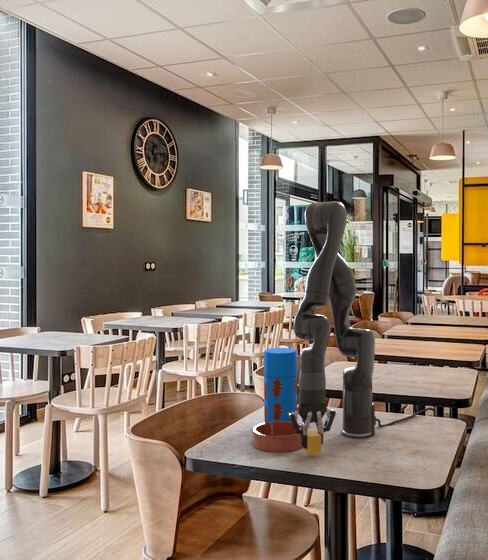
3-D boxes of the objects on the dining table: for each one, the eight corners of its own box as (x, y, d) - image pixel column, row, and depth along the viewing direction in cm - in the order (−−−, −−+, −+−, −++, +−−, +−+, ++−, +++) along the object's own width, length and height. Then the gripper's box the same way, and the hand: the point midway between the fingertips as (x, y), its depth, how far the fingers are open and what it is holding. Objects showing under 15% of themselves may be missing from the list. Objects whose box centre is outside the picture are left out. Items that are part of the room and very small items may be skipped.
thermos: (293, 431, 192) (292, 353, 190) (260, 429, 194) (260, 352, 192) (300, 422, 202) (299, 348, 201) (269, 420, 204) (268, 347, 203)
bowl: (296, 433, 190) (296, 419, 190) (311, 449, 175) (311, 433, 175) (248, 438, 186) (248, 423, 185) (259, 454, 171) (259, 438, 171)
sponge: (314, 446, 172) (314, 429, 171) (321, 453, 166) (321, 435, 166) (302, 447, 171) (302, 430, 170) (309, 454, 165) (309, 436, 165)
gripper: (291, 390, 162) (291, 453, 163) (340, 387, 166) (340, 449, 167) (284, 384, 169) (284, 445, 170) (331, 381, 173) (331, 440, 174)
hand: (312, 446), depth 168 cm, fingers closed on sponge, 3 cm apart
